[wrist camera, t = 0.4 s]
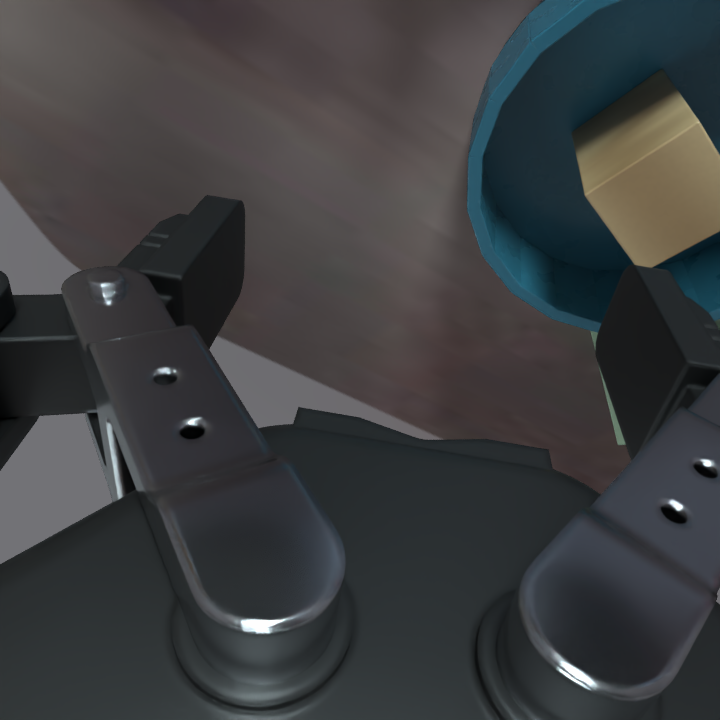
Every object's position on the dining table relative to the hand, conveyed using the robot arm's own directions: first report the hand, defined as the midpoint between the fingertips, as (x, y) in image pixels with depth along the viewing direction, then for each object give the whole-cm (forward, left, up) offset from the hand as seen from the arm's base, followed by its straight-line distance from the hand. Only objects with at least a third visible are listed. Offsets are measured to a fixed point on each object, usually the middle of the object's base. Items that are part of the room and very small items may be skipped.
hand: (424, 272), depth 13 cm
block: (-6, +6, -19) cm, 21 cm away
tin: (-6, +6, -20) cm, 22 cm away
